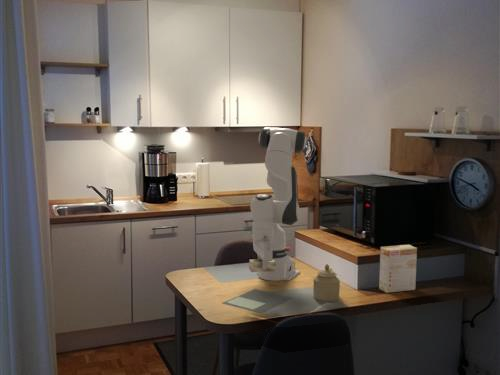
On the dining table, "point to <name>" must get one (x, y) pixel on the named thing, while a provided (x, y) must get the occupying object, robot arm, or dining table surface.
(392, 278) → the coffeecake box
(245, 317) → the dining table surface
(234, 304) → the rubber mat
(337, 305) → the dining table surface
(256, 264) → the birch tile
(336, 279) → the sugar bowl
